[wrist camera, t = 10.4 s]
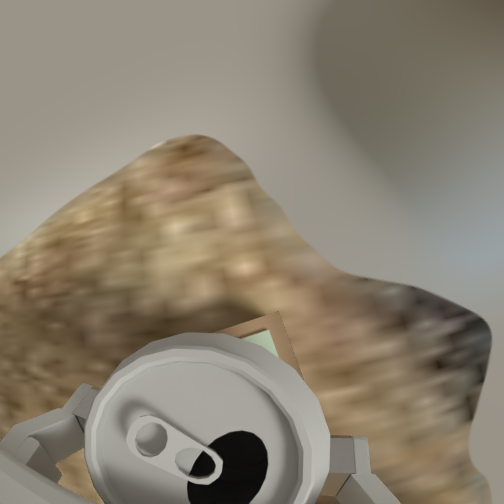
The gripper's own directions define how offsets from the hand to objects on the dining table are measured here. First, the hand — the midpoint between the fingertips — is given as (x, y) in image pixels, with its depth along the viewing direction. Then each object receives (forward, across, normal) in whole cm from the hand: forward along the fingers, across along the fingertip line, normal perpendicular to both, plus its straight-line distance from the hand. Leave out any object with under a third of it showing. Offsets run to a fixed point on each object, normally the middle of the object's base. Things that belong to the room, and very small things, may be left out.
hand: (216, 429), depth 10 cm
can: (+6, 0, -6) cm, 9 cm away
